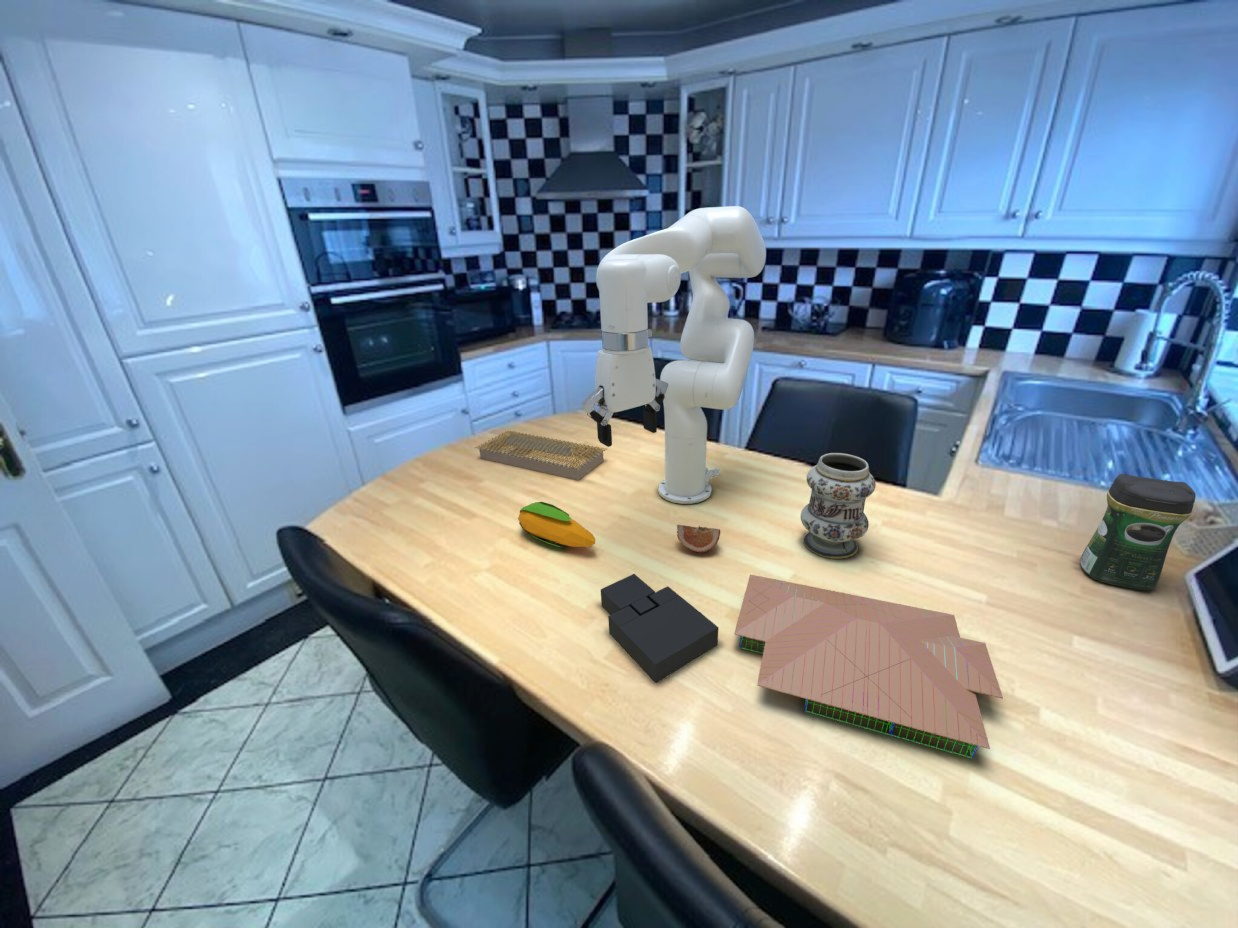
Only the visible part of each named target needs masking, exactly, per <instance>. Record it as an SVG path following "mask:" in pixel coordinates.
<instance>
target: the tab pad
mask: <svg viewBox="0 0 1238 928" xmlns="http://www.w3.org/2000/svg"><path fill="white" fill-rule="evenodd" d="M655 592H656V591H655V590H654V589H653V588H652V587H651V586H650V585H648V584H647V583H646V582H645V581H644V580H642V579H641V578H640V577H639V576H638V575H637V574H636V573H633V574H630V575H628V576H626V577H624V578H621V579H619V580H618V581H615V582H613V583H611V584H609V585H606V586H605V587H602V588H600V601H601V603H600V604H601V607H602V608H603V609H604V610H605V611H606V612H607V613H608V614H609V615H611V614H613V613H615V612H617V611H619V610H621V609H623V608H625V607H627V606H630V607H631V608H632V609H633V610H634V611H635V612H636V613H637V614H638V615H639V616H641V615H643V614H645V613H647V612H649V611H651V610H653V609H655V608H656V605H655V604H654V603H652V602H651V601H650V600H649V595H651V594H653V593H655Z"/></svg>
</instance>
